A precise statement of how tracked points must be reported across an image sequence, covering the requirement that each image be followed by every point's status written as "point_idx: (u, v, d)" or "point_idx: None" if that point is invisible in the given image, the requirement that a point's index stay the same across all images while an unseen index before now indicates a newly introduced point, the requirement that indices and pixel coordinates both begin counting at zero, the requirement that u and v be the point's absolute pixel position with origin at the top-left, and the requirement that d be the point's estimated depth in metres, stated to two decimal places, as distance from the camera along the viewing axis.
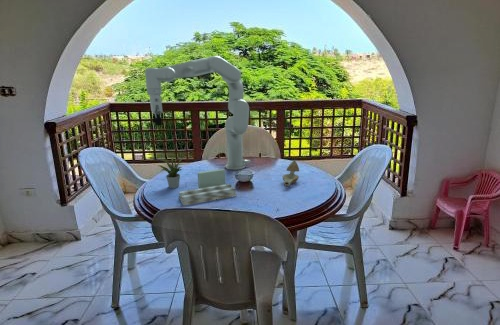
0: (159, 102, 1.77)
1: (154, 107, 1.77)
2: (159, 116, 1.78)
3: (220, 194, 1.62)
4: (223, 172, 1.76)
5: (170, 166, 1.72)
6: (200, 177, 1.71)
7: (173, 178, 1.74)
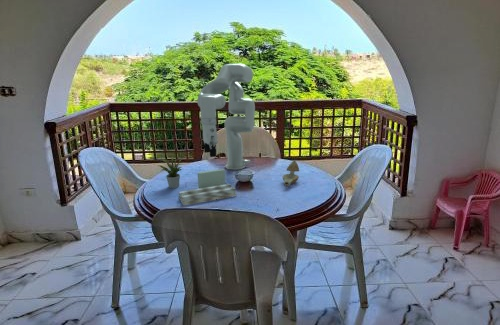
0: (214, 132, 1.65)
1: (209, 138, 1.64)
2: (214, 147, 1.65)
3: (220, 194, 1.62)
4: (223, 172, 1.76)
5: (170, 166, 1.72)
6: (200, 177, 1.71)
7: (173, 178, 1.74)
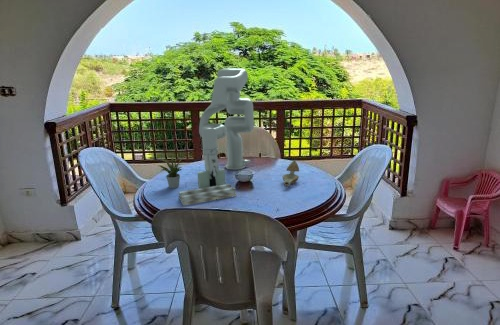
0: (216, 163, 1.69)
1: (211, 172, 1.69)
2: (214, 178, 1.72)
3: (220, 194, 1.62)
4: (223, 172, 1.76)
5: (170, 166, 1.72)
6: (200, 177, 1.71)
7: (173, 178, 1.74)
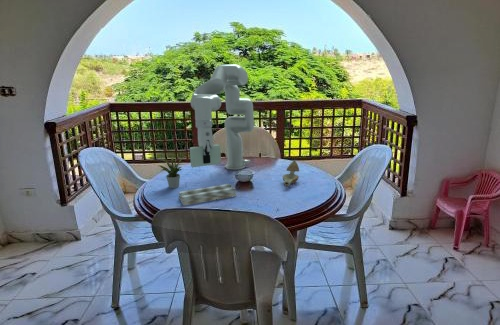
0: (210, 136, 1.52)
1: (205, 146, 1.52)
2: (208, 154, 1.55)
3: (220, 194, 1.62)
4: (218, 148, 1.59)
5: (170, 166, 1.72)
6: (192, 153, 1.54)
7: (173, 178, 1.74)
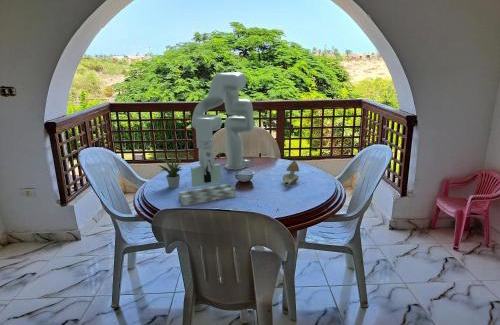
0: (211, 156, 1.54)
1: (205, 166, 1.54)
2: (209, 173, 1.58)
3: (220, 194, 1.62)
4: (219, 167, 1.61)
5: (170, 166, 1.72)
6: (194, 172, 1.57)
7: (173, 178, 1.74)
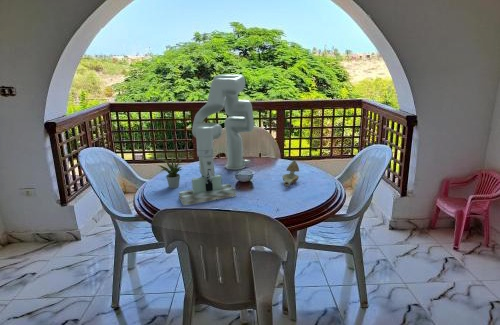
0: (211, 165, 1.55)
1: (206, 173, 1.55)
2: (211, 182, 1.57)
3: (220, 194, 1.62)
4: (219, 178, 1.63)
5: (170, 166, 1.72)
6: (194, 184, 1.58)
7: (173, 178, 1.74)
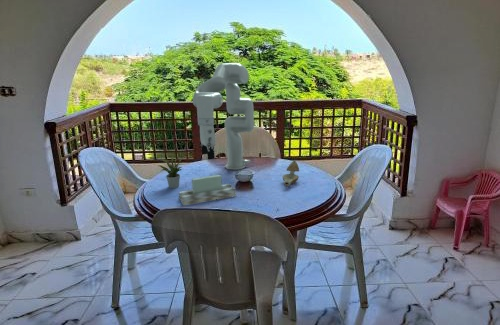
0: (212, 134, 1.55)
1: (207, 140, 1.54)
2: (212, 150, 1.55)
3: (220, 194, 1.62)
4: (219, 178, 1.63)
5: (170, 166, 1.72)
6: (194, 184, 1.58)
7: (173, 178, 1.74)
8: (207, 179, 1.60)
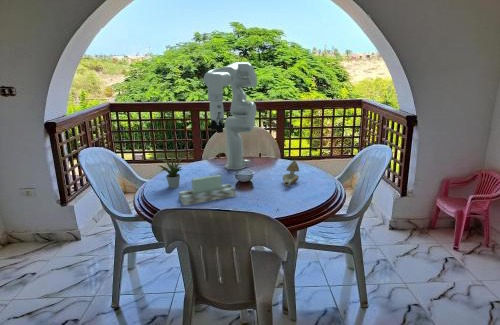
0: (221, 109, 1.69)
1: (216, 114, 1.69)
2: (221, 123, 1.69)
3: (220, 194, 1.62)
4: (219, 178, 1.63)
5: (170, 166, 1.72)
6: (194, 184, 1.58)
7: (173, 178, 1.74)
8: (207, 179, 1.60)
